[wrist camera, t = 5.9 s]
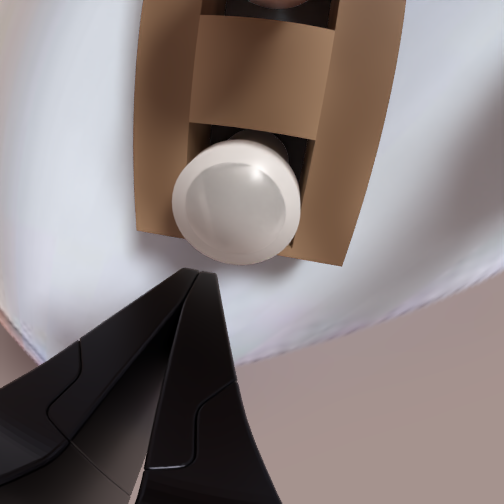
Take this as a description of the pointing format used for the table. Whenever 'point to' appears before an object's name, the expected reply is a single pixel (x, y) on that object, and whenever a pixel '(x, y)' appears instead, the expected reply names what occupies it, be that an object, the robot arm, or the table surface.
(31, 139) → the table surface
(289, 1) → the terracotta plug middle
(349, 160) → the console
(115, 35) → the table surface
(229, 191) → the grey plug
